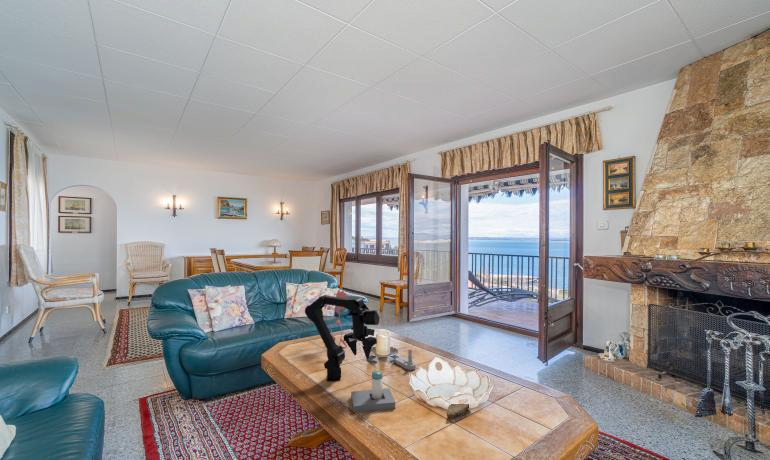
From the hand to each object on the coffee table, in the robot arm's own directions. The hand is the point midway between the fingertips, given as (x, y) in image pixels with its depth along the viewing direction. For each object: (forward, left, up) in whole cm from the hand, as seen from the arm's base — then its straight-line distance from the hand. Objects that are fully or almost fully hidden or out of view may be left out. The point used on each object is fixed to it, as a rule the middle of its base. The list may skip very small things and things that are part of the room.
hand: (361, 356), depth 167 cm
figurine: (-6, +59, -13) cm, 60 cm away
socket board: (+2, -20, -13) cm, 24 cm away
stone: (+34, -35, -13) cm, 51 cm away
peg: (+4, -20, -13) cm, 24 cm away
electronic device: (+26, +17, -13) cm, 33 cm away
